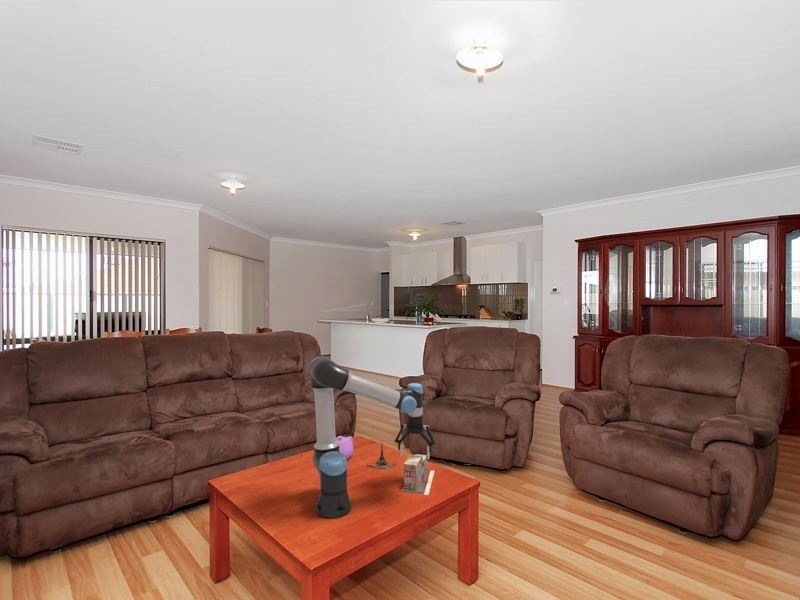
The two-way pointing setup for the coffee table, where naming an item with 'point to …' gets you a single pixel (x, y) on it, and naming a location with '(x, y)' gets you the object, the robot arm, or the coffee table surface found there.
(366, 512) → the coffee table surface
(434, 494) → the coffee table surface
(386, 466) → the eiffel tower figurine
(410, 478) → the stack of blocks
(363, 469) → the coffee table surface
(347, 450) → the teapot
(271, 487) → the coffee table surface
